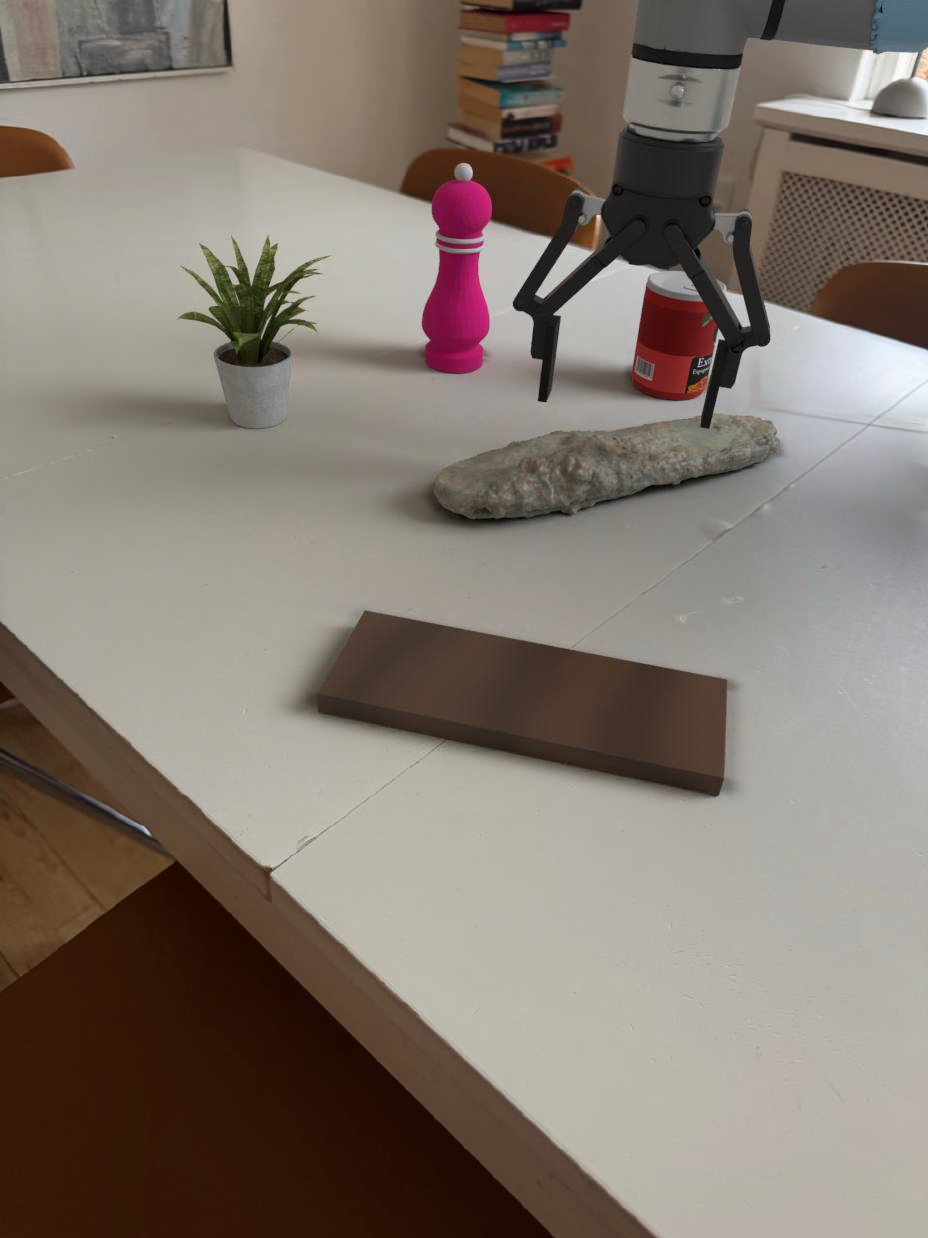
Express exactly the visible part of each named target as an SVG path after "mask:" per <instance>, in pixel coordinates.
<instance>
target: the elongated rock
mask: <svg viewBox="0 0 928 1238" xmlns="http://www.w3.org/2000/svg"><path fill="white" fill-rule="evenodd" d="M701 416H702V414H701V415H697V416H695V417H688V418H679V419H673V420H662V421H657V422H651V423H644V424H642V425H637V426H631V427H625V428H619V429H615V430H595V431H592V430H585V431H584V430H579V429H578V430H570V431H564V430H561V429H560V430H555V431H551V432H549V433H547V434H544V435H539V436H536V437H533V438H529V439H525V440H521V441H520V440H519V441H518V440H517V441H515V440H513V441H511V442H510V443H508V444H507V445H506V446H504V447H501V448H497V449H491V450H489V451H485V452H480V453H478V454H477V455H473V456H471V457H469V458H465V459H462V460H459V461H457V462H455V463H454V464H451V465H448V466H446V467H443V468H442V469H441V471H439V472H438V474H437V475H436V478H435V479H434V484H433V485H434V486H433V495H434V496H435V499H436V500H437V502H438V503H439V504H440V505H441V507H443V508H444V509H446V510H448V511H451V512H452V513H453V514H459V515H462V516H464V517H466V518H468V519H470V520H475V519H493V518H494V519H496V520H497V519H501V518H512V519H513V518H522V517H523V518H527V519H528V518H529V519H530V518H533V517H534V516H539V515H540V516H541V515H548V514H550V513H551V512H559V511H561V512H562V513H563V514H569V515H576V514H577V512H578V511H579V510H581V509H584V508H585V509H586V508H593V507H594V505H595V504H597V503H599V502H603V501H607V500H617V499H618V498H621V497H626V496H632V495H633V494H635V493H637V492H640V491H642V490H644V489H645V488H648V487H650V486H664V485H669V484H671V485H674V486H676V485H677V486H678V485H680V483H681V482H683V481H686V480H688V479H691V478H693V479H696V478H698V477H702V476H709V475H718V474H722V473H727V472H732V471H740V470H742V469H743V468H746V467H749V466H752V465H753V464H755V463H758V464H759V463H760V464H761V463H762V462H763V461H764V459H766V458H768V457H769V455H772V453H773V454H778V452H779V448H780V442H781V439H780V438H779V437H777V433H778V429H777V428H776V427H775V425H774V422H773V421H772V420H767V419H766V420H764V419H762V418H761V417H760V416H759V417H758V416H754V415H745V416H744V415H739V414H737V415H733V414H724V413H716V412H715V413H713V416H712V420H711V425H710V429H707V428H701V427H700V425H701Z"/></svg>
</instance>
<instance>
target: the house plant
mask: <svg viewBox="0 0 928 1238" xmlns="http://www.w3.org/2000/svg"><path fill="white" fill-rule="evenodd" d="M231 241H232V245H233V251H234V255H235V259H236V260H235V261H236V265H237V267H236V266H231V265H224V263H222V261H221V260H219V258H218V257H217V256H215V254H214V253H213V252H212V250H211V249H210V248H209V247H207V246H205V245H204V244H201V242H199V243H198V244H199V247H200V249H201V251H202V254H203V255H204V257H205V259H206V262H207V264H208V267H209V268H210V271H211V273H212V276H213V279H214V282H215V284H216V289H217V292H218V293H217V292H216V291H215V290H214V288H213V287H212V286H211V285H210V284H209V283H208V282H207V281H205V280H204V279H203V278H202V277H201V275H199V274H198V273H196V272H194V271H193V270H191V269H189V268H187V267H185V266H183V265H180V267H181V269H183V270H184V272H186V273H188V274H189V275H190V276H191V277H193V278H194V280H195V281H196V282H197V283H198V285H199V286H200V287H201V288H202V289H203V290H204V291H205V292H206V293H207V294H208V295H209V296H210V298H212V300H213V301H214V303H215V304H216V305H211V306H209V307H208V311H209V313H210V314H211V315H212V316H213V317H214V318H213V317H211V316H209V315H207V314H204V313H202V312H198V311H188V312H185V313H183V314H181V315H180V316H178V317H177V320H179V319H180V320H181V319H182V320H188V321H196V322H201V323H204V324H207V325H211V326H214V327H216V328H217V329H218V330H219V331H221V332H222V333H224V334H225V336H226V337H227V338H228V339H229V342H225V343H223V344H221V345H219V346H218V347H216V348H215V349H214V351H213V353H212V354H213V358H214V362H215V365H216V370H217V373H218V378H219V380H220V385H221V389H222V392H223V396H224V400H225V403H226V404H225V405H226V407H227V410H228V415H229V418H230V420H231V421H232V422H233V423H234V424H235V425H236V426H238V427H241V428H246V429H256V430H257V429H259V430H260V429H267V428H273V427H276V426H278V425H280V424H282V423H283V422H284V421H285V420H286V417H287V408H288V402H289V401H288V399H289V393H290V383H291V376H292V375H291V374H292V367H293V366H292V365H293V358H294V352H293V350H292V349H291V348H290V347H289V346H288V345H286V344H284V343H282V342H281V341H282V340H283V339H285V338H286V336H288V335H289V334H290V333H291V332H292V331H293V330H294V328H292V329H291V330H289V332H288V333H287V334H286V335H284V336H283V337H282V338H281V339H280V340H279V341H275V340H274V339H275V338H276V336H277V334H278V332H279V331H280V329H281V327H284V326H286V325H297V326H295V328H297V327H298V326H302V327H307V328H309V329H312V330H313V331H314V332H316V333H317V334H319V332H318V330H317V329H316V327H315V326H314V325H318V323H317V322H314V321H309V320H305V319H302V318H301V319H300V318H294V317H296V316H298V315H300V314H302V313H304V312H308V310H307V309H304V308H302V307H299V306H300V305H301V304H303V302H305V301H307V300H309V299H312V298H315V297H316V295H310V296H305V297H302V298H299V299H297V300H296V301H289V300H286V298H287V296H288V294H300V295H301V294H302V293H301V292H298V291H297V290H292V289H293V287H294V286H295V285H296V284H297V283H298V282H299V281H300V280H302V279H306V278H309V277H311V276H312V277H313V276H314V275H323V273H321V272H318V270H319V268H309V267H310V266H312V265H313V264H316V263H317V262H320V261H323V260H325V259H327V258H329V257H332V256H333V255H325V256H321V257H317V258H314V259H311V260H309V261H306V262H304V263H303V264H301V265H299V266H297V268H295V269H294V270H293V271H291V272H290V273H289V275H287V276H286V278H284V280H282V281H280V282H277V283H275V284H273V285H271V282H272V280H273V279H272V278H273V276H274V273H275V270H276V263H275V256H276V254H277V252H278V248H279V247H278V245H279V244H280V242H277V243H275V244H273V245H272V246H271V241H270V234H268V235H267V236H266V240H265V241H264V244H263V247H262V251H261V254H260V257H259V260H258V263H257V266H256V268H255V270H254V271H255V272H254V275H253V279H252V283H251V278H250V273H249V269H248V266H247V264H246V261H245V259H244V257H243V255H242V252H241V250H240V247H239V245H238V243H237V241H236V240H235V238H234V237H233V235H232V234H231ZM227 268H230V269H231V271H232V272H233V273H234V275H235V277H236V279H237V282H238V284H233V282H232V278H231V277H230V274H229V272H228V270H227ZM308 268H309V269H308ZM316 271H317V272H316ZM270 285H271V286H270ZM273 292H274V294H272V293H273ZM270 294H272V297H271V298H270V300H269V301H268V303H267V304H266V299H267V297H268V296H269V295H270ZM289 303H290V304H291V305H289V306H288V307H286V308H284V309H282V311H280V308H281V307H282V305H287V304H289ZM265 304H266V306H265ZM279 311H280V312H279Z"/></svg>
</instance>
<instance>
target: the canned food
mask: <svg viewBox="0 0 928 1238" xmlns="http://www.w3.org/2000/svg"><path fill="white" fill-rule="evenodd" d="M715 279H716V278H715ZM716 281H717V282H718V284H719V286H720V288H721V289H722V291H723V293H724V295H725V297H726V295H727V285H726V284H725V283H724V282H722V281H721V280H719V279H716ZM645 283H646V284H645V289H644V294H643V301H642V306H641V311H640V319H639V325H638V332H637V337H636V342H635V345H636V346H635V351H634V357H633V361H632V362H633V363H632V368H631V379H632V384H633V386H634V387H635V388H636V390H638V391H640V392H642V393H643V394H646V395H648V396H651V397H654V398H659V399H662V400H663V399H664V400H671V401H687V400H692V399H695V398H697V397H699V396H701V395H702V394H703V392H704V390H705V389H706V387H707V384H708V379H709V374H710V369H711V365H712V362H713V361H712V360H713V356H714V352H715V347H716V344H717V343H716V342H717V338H718V334H719V328H718V327H717V325H716V323H715V321H714V320H713V318H712V316H711V314H710V313H709V311H708V309H707V307H706V306H705V304H704V302H703V300H702V299H701V297H700V295H699V293H698V292H697V290H696V288H695V286H694V285H693V283H692V281H691V280H690V279H689V278H688V277H687V275H686V273H685V271H684V270H683V271H682V270H665V271H657V272H654V273H651V274H650V275H648V277H647V280H646V282H645Z"/></svg>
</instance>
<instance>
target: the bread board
mask: <svg viewBox="0 0 928 1238" xmlns="http://www.w3.org/2000/svg"><path fill="white" fill-rule="evenodd" d="M316 696H317V698H316V699H317V712H318V713H320V714H321V713H322V714H326V715H331V716H336V717H339V718H344V719H349V720H355V721H359V722H365V723H368V724H374V725H377V726H384V727H388V728H393V729H398V730H402V731H406V732H411V733H416V734H422V735H427V736H431V737H435V738H441V739H444V740H450V741H454V742H460V743H464V744H469V745H472V746H473V745H474V746H478V747H483V748H487V749H492V750H497V751H502V752H507V753H512V754H515V755H521V756H526V757H531V758H535V759H540V760H545V761H550V762H555V763H559V764H564V765H569V766H574V767H579V768H581V769H582V768H583V769H588V770H592V771H597V772H603V773H606V774H611V775H617V776H621V777H625V778H631V779H635V780H639V781H640V780H641V781H643V782H650V783H655V784H659V785H664V786H669V787H673V788H677V789H683V790H688V791H691V792H697V793H702V794H706V795H711V796H717V797H719V796H720V794H721V791H722V788H723V784H724V781H725V777H726V776H725V775H726V772H725V771H726V744H727V742H726V740H727V715H728V714H727V711H728V709H727V707H728V679H727V678H723V677H716V676H711V675H706V674H702V673H695V672H690V671H685V670H680V669H674V668H670V667H666V666H665V667H664V666H660V665H654V664H649V663H643V662H639V661H638V662H637V661H633V660H628V659H623V658H618V657H612V656H607V655H602V654H595V653H591V652H586V651H581V650H575V649H569V648H565V647H559V646H554V645H549V644H544V643H538V642H534V641H528V640H523V639H517V638H512V637H508V636H502V635H498V634H491V633H487V632H481V631H476V630H471V629H465V628H460V627H455V626H449V625H446V624H445V625H444V624H441V623H440V624H439V623H435V622H428V621H423V620H419V619H413V618H409V617H402V616H397V615H393V614H387V613H381V612H378V611H377V612H376V611H372V610H371V611H370V610H367V609H366V610H365V609H364V611H363V612H362V614H361V616H360V617H359V620H358V621H357V623H356V625H355V627H354V628H353V630H352V632H351V634H350V635H349V637H348V639H347V641H346V643H345V644H344V646H343V647H342V650H341V651H340V653H339V655H338V656H337V658H336V660H335V662H334V663H333V665H332V667H331V669H330V671H329V672H328V674H327V676H326V677H325V680H324V681H323V683H322V685H321V687H320V688H319V690H318V692H317V694H316Z"/></svg>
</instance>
